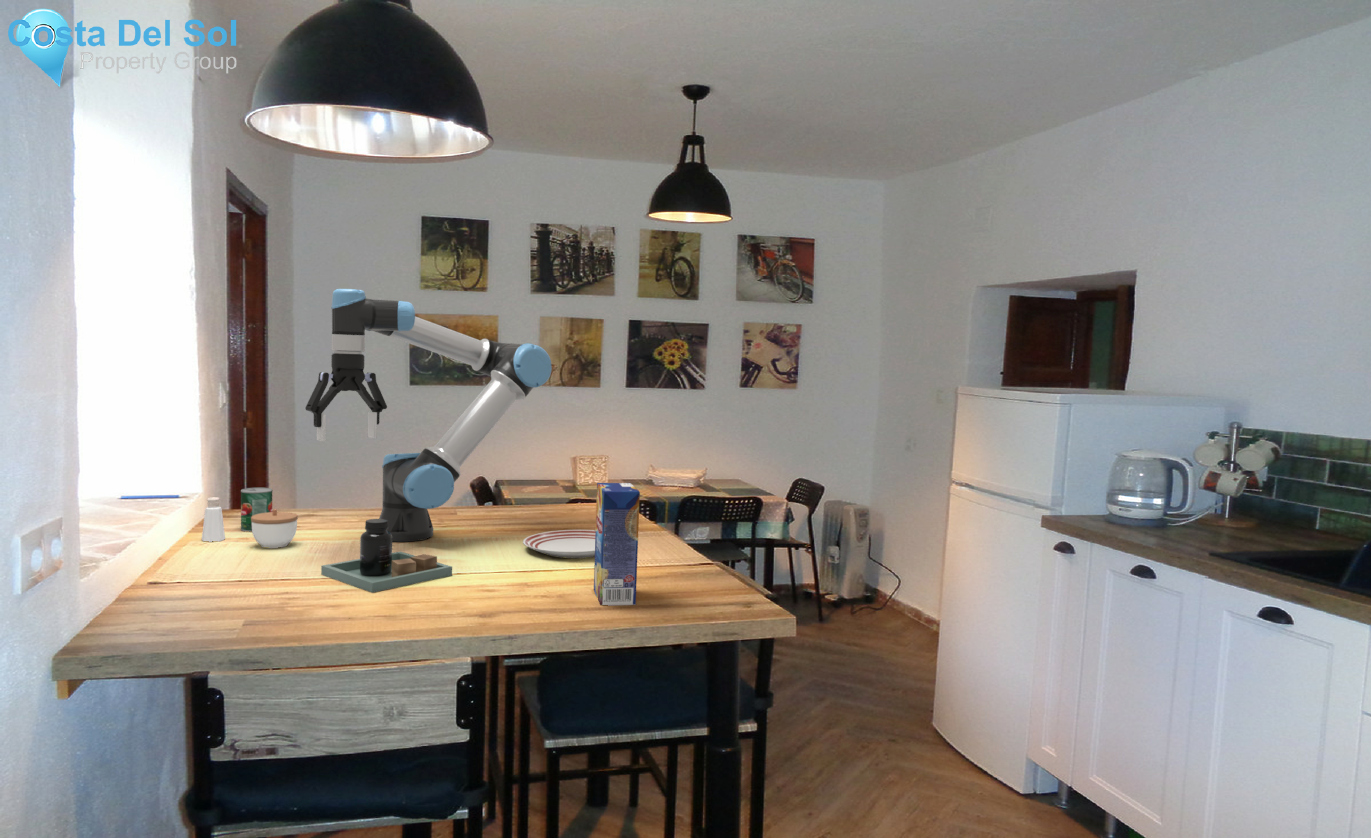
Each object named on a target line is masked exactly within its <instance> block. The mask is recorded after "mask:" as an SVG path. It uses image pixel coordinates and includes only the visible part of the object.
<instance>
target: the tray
mask: <svg viewBox="0 0 1371 838" xmlns="http://www.w3.org/2000/svg"><path fill="white" fill-rule="evenodd" d="M414 556H415V555H414V554H410V553H408V552H403V551H400V550H399V551H396V552H392V560H400V559H409V558H410V559H411V557H414ZM320 569H321V574H320V575H321V576H324V577H327V578H329V579H332V580H335V581H338V582H339V583H340V582H341V583H343V584H346V585H349V586H352V587H355V588H358V589H360V590H363V591H366V592H369V593H371V594H374V593H377V592H382V591H387V590H392V589H396V588H401V587H406V586H410V585H415V584H419V583H424V582H429V581H433V580H438V579H442V578H447V577H451V576H453V566H452V565H449V564H444V563H440V562H438V561H437V568H435V569H430V570H425V571H420V572H416V573H411V574H406V575H401V576H396V577H392V570H391V572H390V573H389V574H387V575H383V576H365V575H362V574H361V573H360V558H357V559H352V560H346V561H344V560H343V561H340V562H333V563H328V564H324V565H323V564H322V565H321V568H320Z"/></svg>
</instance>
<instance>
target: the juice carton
mask: <svg viewBox="0 0 1371 838" xmlns="http://www.w3.org/2000/svg"><path fill="white" fill-rule="evenodd" d="M640 493H641V492H640V490H639V489H637V488H636V486H635V485H633V484H632V483H631V482H596V505H595V507H596V509H595V511H596V512H595V515H596V516H595V530H596V534H595V557H594V566H593V567H594V570H593V591H594V594H595V596H596V599H597V598H598V599H597V601H598V603H599V606H600V605H608V606H636V605H637V603H636V602H637V580H638V579H637V576H638V574H637V573H638V553H639V552H638V551H639V550H638V549H639V548H638V545H639V525H640V524H639V523H640V522H639V521H640V519H639V518H640V497H641V495H640Z"/></svg>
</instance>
